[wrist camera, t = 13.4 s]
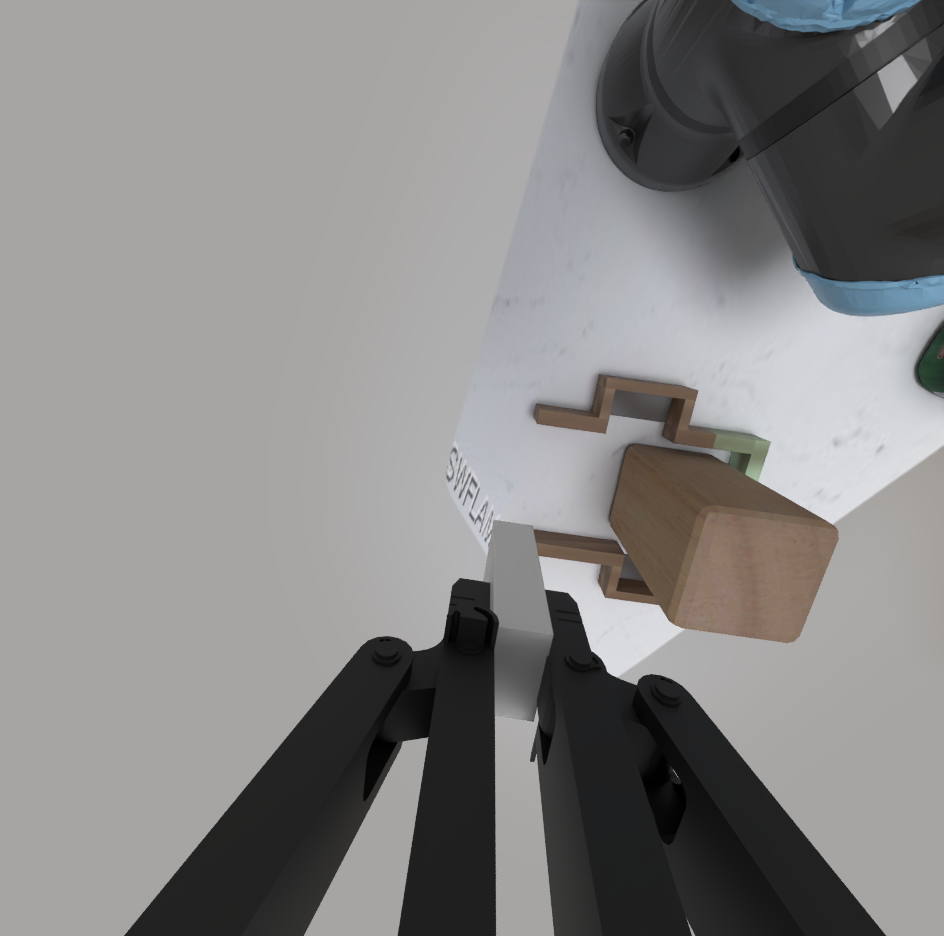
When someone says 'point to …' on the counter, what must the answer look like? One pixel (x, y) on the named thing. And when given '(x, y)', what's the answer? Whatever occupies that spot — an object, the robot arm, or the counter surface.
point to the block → (719, 544)
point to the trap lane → (676, 412)
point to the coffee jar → (934, 366)
